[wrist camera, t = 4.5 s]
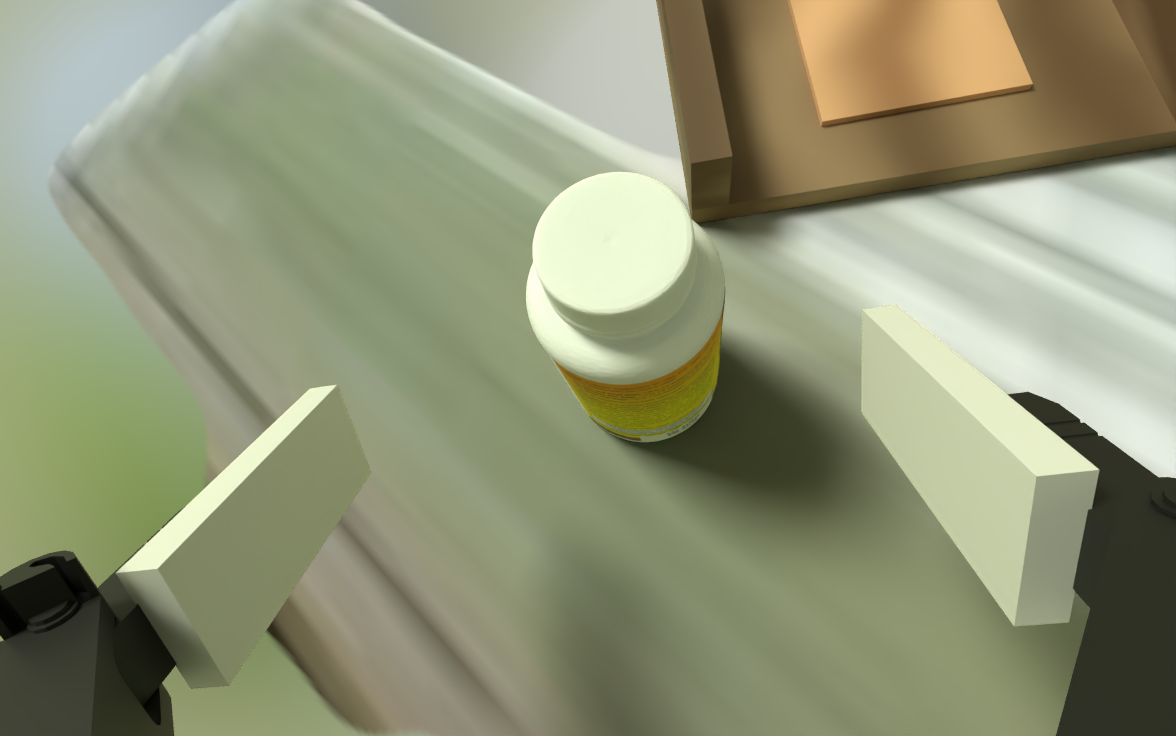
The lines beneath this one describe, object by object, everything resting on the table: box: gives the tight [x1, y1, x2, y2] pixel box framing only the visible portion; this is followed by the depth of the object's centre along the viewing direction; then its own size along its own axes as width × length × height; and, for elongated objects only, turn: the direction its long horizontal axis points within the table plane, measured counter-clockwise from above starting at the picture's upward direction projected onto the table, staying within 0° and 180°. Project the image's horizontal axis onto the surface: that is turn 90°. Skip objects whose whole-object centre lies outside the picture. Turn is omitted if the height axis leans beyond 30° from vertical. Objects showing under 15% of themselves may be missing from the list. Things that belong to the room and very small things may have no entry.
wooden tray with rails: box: [656, 0, 1176, 223], centre depth 25 cm, size 20×14×4 cm
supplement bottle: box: [526, 172, 725, 442], centre depth 19 cm, size 6×6×10 cm
